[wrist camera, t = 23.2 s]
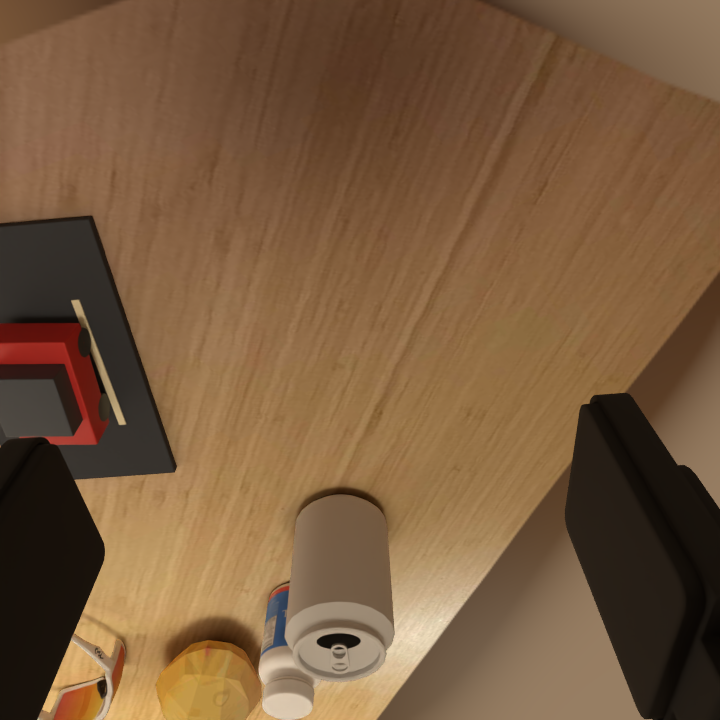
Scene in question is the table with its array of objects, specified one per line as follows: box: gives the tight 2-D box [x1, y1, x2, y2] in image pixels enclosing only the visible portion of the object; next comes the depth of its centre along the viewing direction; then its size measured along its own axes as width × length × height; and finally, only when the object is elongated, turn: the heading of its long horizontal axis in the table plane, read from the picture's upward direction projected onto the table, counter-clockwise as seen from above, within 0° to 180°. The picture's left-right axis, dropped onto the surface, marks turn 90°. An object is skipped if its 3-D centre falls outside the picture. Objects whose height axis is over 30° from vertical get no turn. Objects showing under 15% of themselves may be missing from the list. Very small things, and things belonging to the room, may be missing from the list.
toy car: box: [0, 323, 110, 445], centre depth 38 cm, size 8×5×5 cm
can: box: [285, 494, 394, 682], centre depth 44 cm, size 8×8×12 cm
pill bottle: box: [259, 583, 321, 720], centre depth 51 cm, size 6×5×10 cm
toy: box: [156, 640, 261, 720], centre depth 58 cm, size 7×18×10 cm
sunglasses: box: [38, 634, 126, 720], centre depth 57 cm, size 14×15×5 cm
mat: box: [0, 216, 176, 480], centre depth 40 cm, size 20×12×1 cm, turn 5°
